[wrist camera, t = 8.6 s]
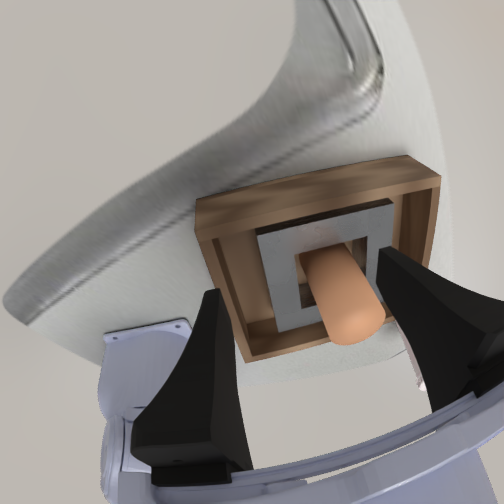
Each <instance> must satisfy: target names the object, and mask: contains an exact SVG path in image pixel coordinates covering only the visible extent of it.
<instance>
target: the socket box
mask: <svg viewBox="0 0 504 504" xmlns="http://www.w3.org/2000/svg"><path fill="white" fill-rule="evenodd" d="M440 186H441V175H439V174H438V173H436V172H434V171H433V170H431V169H430V168H428V167H427V166H425V165H423V164H422V163H420V162H418V161H417V160H415V159H413V158H412V157H410V156H408V155H404V156H398V157H391V158H385V159H379V160H373V161H367V162H361V163H355V164H350V165H345V166H339V167H334V168H329V169H324V170H319V171H314V172H309V173H304V174H299V175H295V176H290V177H285V178H281V179H276V180H272V181H268V182H263V183H259V184H255V185H251V186H246V187H242V188H238V189H234V190H230V191H226V192H222V193H218V194H215V195H211V196H207V197H203V198H199V199H196V211H195V234H196V237H197V240H198V243H199V245H200V248H201V251H202V254H203V256H204V259H205V262H206V265H207V267H208V270H209V273H210V275H211V278H212V281H213V283H214V286H215V289H216V288H220V290H221V293H222V296H223V299H224V301H225V304H226V307H227V310H228V313H229V315H230V318H231V323H232V329H233V335H234V337H235V340H236V342H237V345H238V347H239V349H240V352H241V354H242V357H243V359H244V362H245V363H250V362H254V361H258V360H263V359H267V358H271V357H275V356H279V355H283V354H287V353H291V352H295V351H299V350H303V349H306V348H310V347H313V346H317V345H321V344H324V343H327V342H331V340H330V338H329V335H328V333H327V330H326V327H325V325H324V322H323V321H320V322H317V323H313V324H309V325H306V326H302V327H298V328H295V329H291V330H287V331H283V332H278V328H277V325H276V321H275V317H274V313H273V310H272V305H271V301H270V296H269V292H268V288H267V283H266V279H265V275H264V270H263V266H262V262H261V257H260V253H259V249H258V244H257V240H256V236H255V231H254V228H258V227H262V226H266V225H270V224H275V223H279V222H283V221H287V220H291V219H295V218H300V217H304V216H308V215H312V214H317V213H321V212H325V211H330V210H334V209H338V208H343V207H347V206H351V205H356V204H360V203H365V202H369V201H374V200H378V199H383V198H387V197H388V198H389V199H390V200H391V201H392V202H394V221H393V235H392V246H391V247H393V248H395V249H397V250H398V251H400V252H402V253H403V254H405V255H406V256H408V257H410V258H411V259H413V260H414V261H416V262H418V263H419V264H421V265H422V266H424V267H426V268H427V269H428V265H429V260H430V255H431V250H432V244H433V239H434V233H435V226H436V219H437V212H438V204H439V196H440ZM344 243H345V245H346V247H347V248H348V250H349V251H350V253H351V254H352V240H350V241H346V242H344ZM294 258H295V265H296V272H297V280H298V285H299V284H303V283H307V282H308V281H307V279H306V276H305V274H304V271H303V269H302V266H301V264H300V261H299V254H295V255H294ZM381 305H382V307H383V308H384V310H385V314H386V316H385V320H384V322H383V324H386V323H389V322H392V321H395V318H394V316H393V315H392V313H391V312H390V310H389V308H388V307H387V305H386V303H385V302H382V303H381ZM383 324H382V325H383Z"/></svg>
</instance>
